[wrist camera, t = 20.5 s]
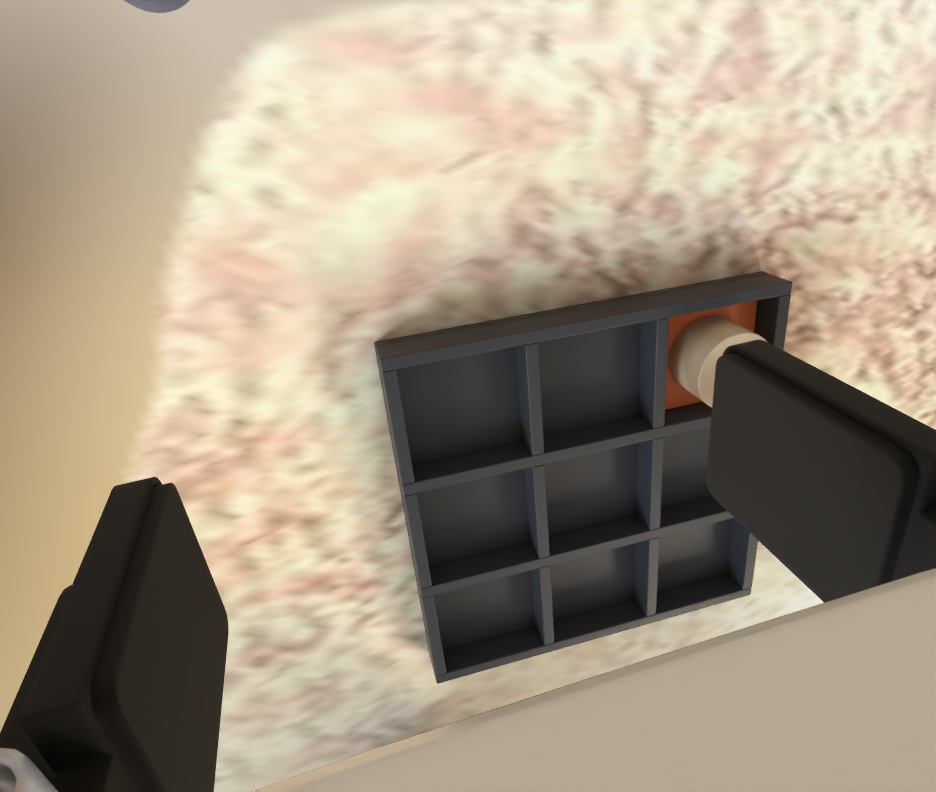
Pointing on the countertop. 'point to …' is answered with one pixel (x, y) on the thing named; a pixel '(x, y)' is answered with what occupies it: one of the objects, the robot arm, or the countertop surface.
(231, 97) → the countertop surface
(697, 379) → the cylinder
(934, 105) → the countertop surface
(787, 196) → the countertop surface
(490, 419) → the grid
